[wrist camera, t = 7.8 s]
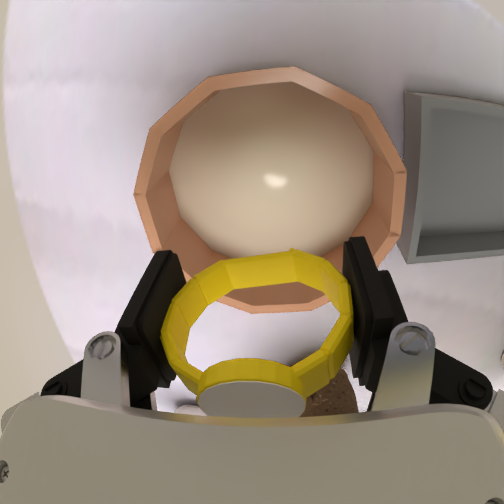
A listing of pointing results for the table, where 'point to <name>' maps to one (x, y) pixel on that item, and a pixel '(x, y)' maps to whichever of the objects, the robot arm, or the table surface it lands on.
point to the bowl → (269, 178)
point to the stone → (332, 398)
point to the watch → (252, 369)
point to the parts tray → (452, 179)
